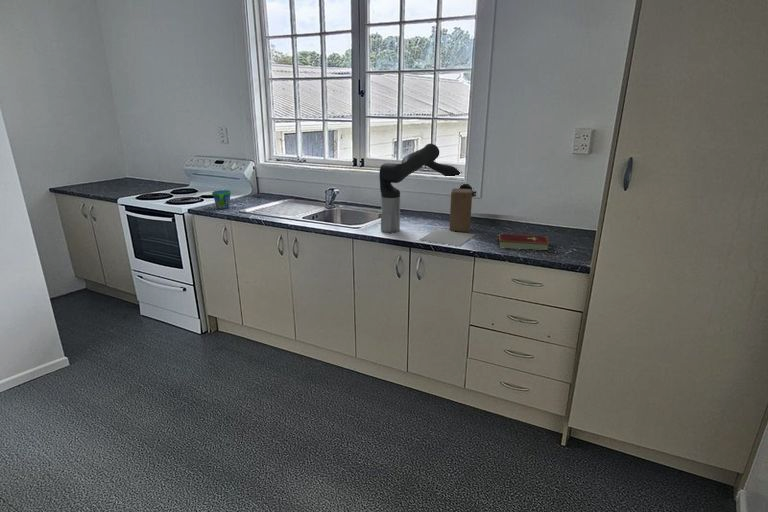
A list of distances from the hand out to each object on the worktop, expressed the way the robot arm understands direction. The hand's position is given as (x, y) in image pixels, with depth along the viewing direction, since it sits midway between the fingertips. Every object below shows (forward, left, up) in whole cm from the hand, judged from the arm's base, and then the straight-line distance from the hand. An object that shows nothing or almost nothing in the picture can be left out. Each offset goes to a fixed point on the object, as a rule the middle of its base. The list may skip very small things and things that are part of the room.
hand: (463, 196), depth 233 cm
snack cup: (-32, +140, -15) cm, 145 cm away
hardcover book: (-22, -37, -16) cm, 45 cm away
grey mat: (-26, -3, -15) cm, 31 cm away
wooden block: (-9, -3, -15) cm, 18 cm away
